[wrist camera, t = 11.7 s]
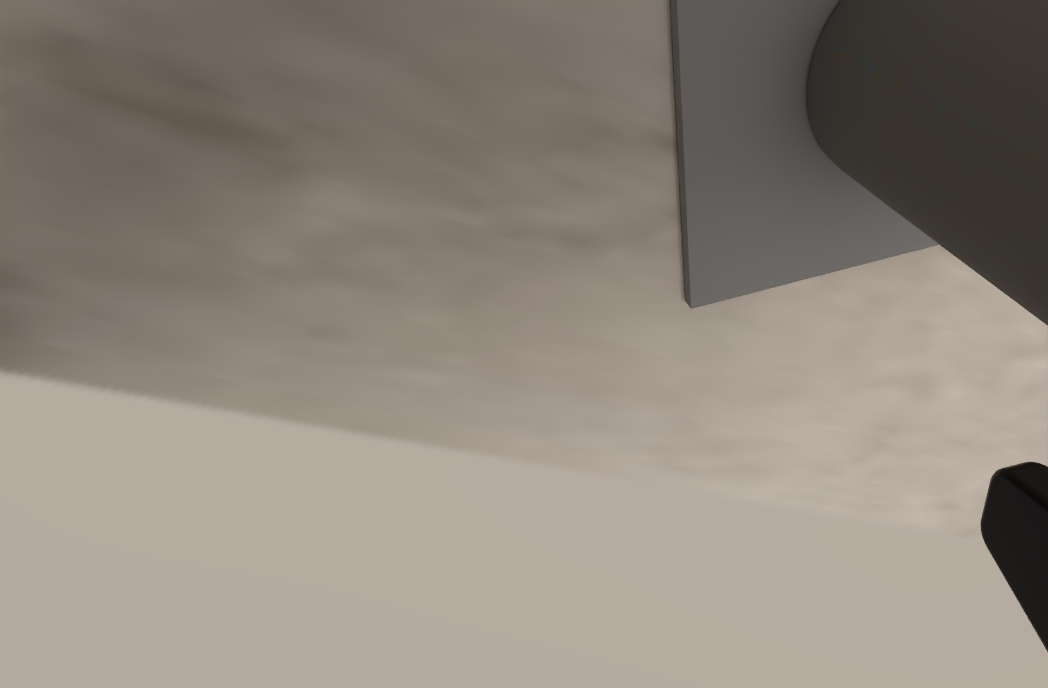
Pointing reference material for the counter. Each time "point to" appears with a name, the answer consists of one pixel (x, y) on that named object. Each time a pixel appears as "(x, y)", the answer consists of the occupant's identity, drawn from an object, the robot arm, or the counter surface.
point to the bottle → (946, 125)
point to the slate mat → (763, 155)
